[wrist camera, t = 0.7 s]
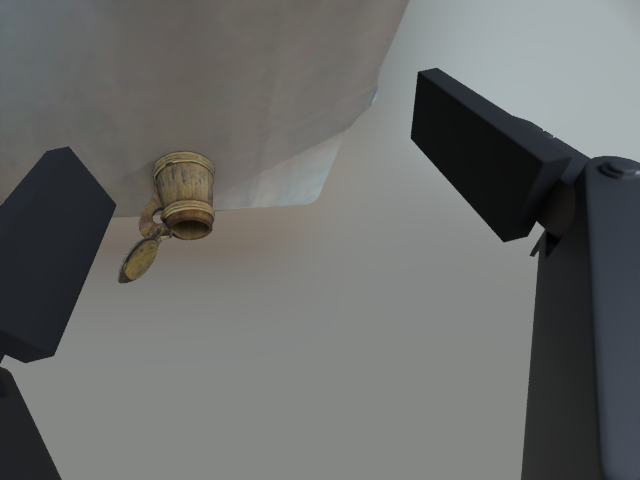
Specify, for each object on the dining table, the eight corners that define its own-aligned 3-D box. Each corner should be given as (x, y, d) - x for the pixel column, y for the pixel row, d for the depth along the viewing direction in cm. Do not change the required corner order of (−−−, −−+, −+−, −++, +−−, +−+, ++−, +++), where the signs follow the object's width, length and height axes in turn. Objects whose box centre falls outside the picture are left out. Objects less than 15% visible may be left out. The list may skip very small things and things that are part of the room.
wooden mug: (110, 152, 41) (104, 267, 33) (212, 150, 46) (229, 250, 38) (129, 193, 49) (128, 296, 41) (215, 188, 53) (230, 279, 45)
